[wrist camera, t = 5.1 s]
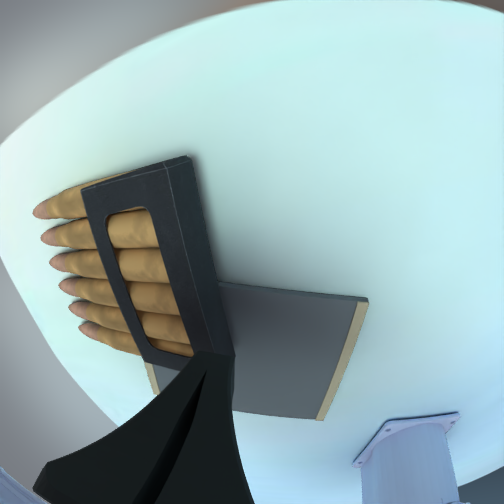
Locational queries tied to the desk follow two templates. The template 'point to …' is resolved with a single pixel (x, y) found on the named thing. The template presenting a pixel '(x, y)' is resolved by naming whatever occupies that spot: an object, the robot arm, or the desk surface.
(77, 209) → the ammunition clip
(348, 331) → the mat
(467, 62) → the desk surface
